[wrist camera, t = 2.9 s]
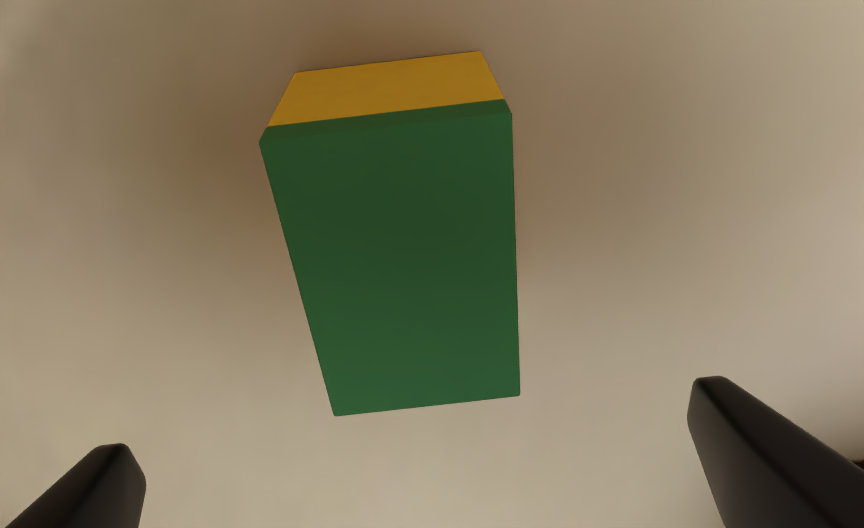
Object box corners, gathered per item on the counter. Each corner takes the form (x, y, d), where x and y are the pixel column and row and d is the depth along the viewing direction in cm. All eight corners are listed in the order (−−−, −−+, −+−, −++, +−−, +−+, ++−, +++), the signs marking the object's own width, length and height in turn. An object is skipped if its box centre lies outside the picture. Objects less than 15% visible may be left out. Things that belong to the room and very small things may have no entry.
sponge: (294, 72, 14) (257, 141, 10) (481, 50, 14) (512, 111, 10) (346, 305, 18) (333, 417, 14) (494, 288, 18) (520, 396, 14)
